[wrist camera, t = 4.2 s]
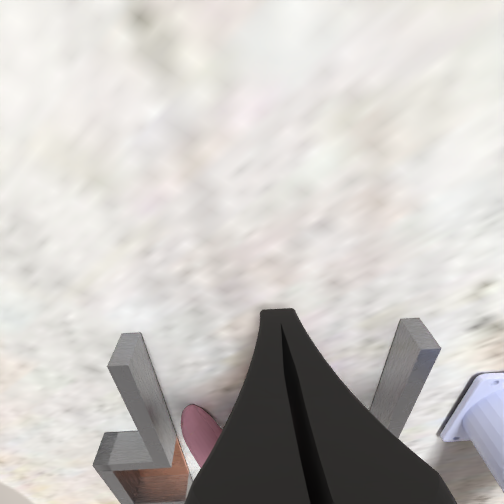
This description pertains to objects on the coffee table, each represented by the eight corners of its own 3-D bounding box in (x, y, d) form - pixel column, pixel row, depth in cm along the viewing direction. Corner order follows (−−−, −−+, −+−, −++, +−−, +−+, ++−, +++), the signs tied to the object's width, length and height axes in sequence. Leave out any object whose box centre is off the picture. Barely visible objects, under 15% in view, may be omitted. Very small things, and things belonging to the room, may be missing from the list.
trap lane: (492, 314, 16) (542, 361, 13) (383, 505, 31) (396, 545, 28) (46, 337, 15) (7, 390, 13) (157, 519, 30) (149, 560, 28)
